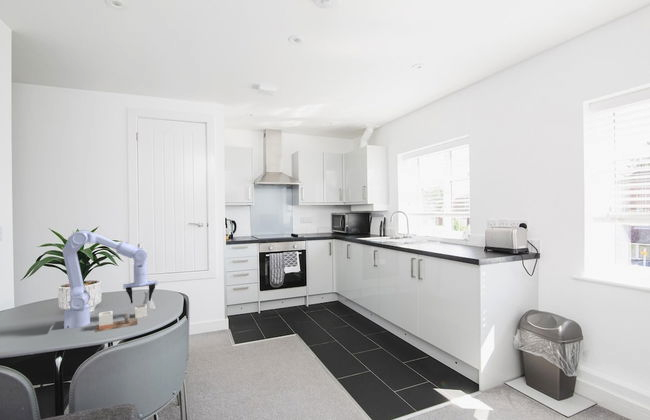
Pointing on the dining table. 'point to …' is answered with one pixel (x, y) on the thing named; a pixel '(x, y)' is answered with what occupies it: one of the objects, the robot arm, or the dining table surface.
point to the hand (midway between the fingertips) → (140, 301)
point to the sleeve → (140, 311)
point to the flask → (149, 303)
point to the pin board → (120, 324)
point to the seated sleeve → (105, 320)
